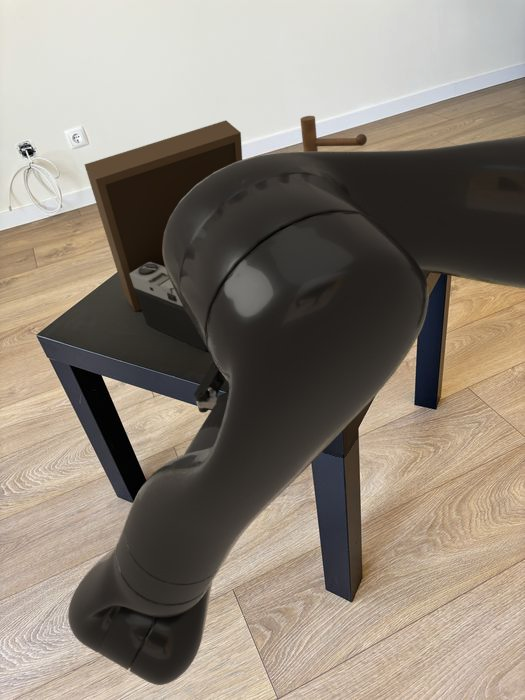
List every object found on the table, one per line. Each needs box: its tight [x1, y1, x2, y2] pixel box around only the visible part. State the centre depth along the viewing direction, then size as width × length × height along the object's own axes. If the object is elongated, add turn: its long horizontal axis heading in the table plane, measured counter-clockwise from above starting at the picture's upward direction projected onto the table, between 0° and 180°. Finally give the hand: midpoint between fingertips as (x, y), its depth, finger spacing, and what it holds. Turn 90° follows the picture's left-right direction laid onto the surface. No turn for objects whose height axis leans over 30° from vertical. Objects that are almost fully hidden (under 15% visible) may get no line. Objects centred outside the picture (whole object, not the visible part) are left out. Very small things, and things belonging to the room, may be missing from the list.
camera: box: [130, 262, 210, 353], centre depth 79 cm, size 14×8×10 cm, turn 50°
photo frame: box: [84, 120, 243, 313], centre depth 81 cm, size 15×22×25 cm
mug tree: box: [299, 115, 368, 152], centre depth 93 cm, size 15×10×21 cm
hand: (283, 354), depth 64 cm, fingers open, 8 cm apart
